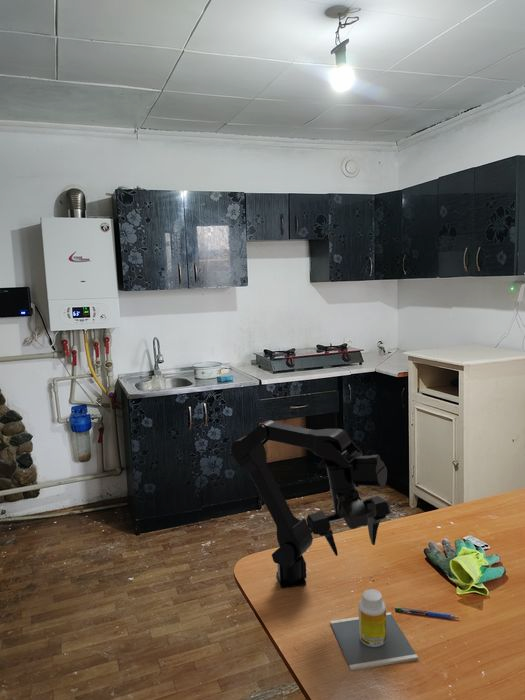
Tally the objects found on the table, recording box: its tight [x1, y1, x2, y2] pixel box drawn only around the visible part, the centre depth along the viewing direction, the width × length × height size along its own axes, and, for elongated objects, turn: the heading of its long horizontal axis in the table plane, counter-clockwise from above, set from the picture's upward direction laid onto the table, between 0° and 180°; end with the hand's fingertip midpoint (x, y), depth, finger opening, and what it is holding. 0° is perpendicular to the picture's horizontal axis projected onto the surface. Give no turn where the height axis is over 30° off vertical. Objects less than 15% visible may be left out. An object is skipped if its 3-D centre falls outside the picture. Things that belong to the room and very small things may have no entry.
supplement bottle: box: [358, 588, 387, 647], centre depth 109 cm, size 6×6×10 cm
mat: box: [329, 611, 419, 672], centre depth 110 cm, size 14×14×1 cm
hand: (354, 549), depth 121 cm, fingers open, 9 cm apart
